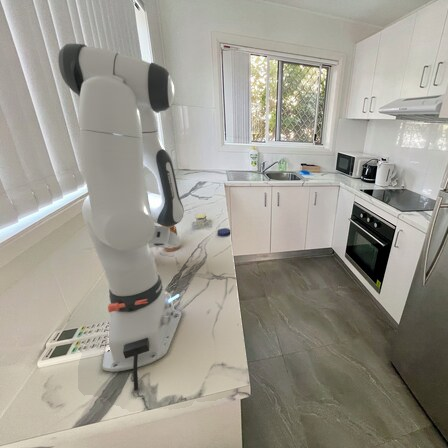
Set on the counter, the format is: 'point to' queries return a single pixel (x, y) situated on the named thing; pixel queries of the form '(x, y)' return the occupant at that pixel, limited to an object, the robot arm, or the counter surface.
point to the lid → (224, 232)
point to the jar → (173, 229)
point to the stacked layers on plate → (201, 221)
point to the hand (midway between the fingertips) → (158, 246)
